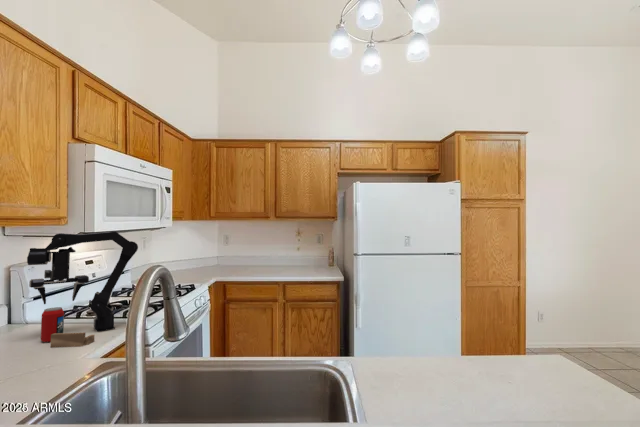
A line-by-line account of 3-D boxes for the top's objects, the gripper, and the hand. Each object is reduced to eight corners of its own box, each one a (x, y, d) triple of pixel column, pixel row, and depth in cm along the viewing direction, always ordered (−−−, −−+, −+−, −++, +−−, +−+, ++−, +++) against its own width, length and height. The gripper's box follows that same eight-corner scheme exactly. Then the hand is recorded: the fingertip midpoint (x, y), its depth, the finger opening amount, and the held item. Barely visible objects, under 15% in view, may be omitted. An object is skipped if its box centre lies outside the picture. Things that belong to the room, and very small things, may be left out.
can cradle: (60, 342, 124) (60, 330, 125) (94, 341, 125) (94, 329, 125) (48, 347, 119) (48, 334, 119) (84, 346, 119) (84, 333, 120)
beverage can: (64, 340, 127) (66, 308, 128) (42, 344, 122) (43, 311, 123) (61, 336, 132) (62, 306, 133) (39, 340, 127) (40, 309, 128)
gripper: (83, 261, 149) (82, 297, 148) (28, 264, 136) (26, 303, 134) (89, 262, 141) (88, 299, 140) (31, 265, 128) (30, 307, 127)
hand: (59, 302), depth 136 cm, fingers open, 9 cm apart
